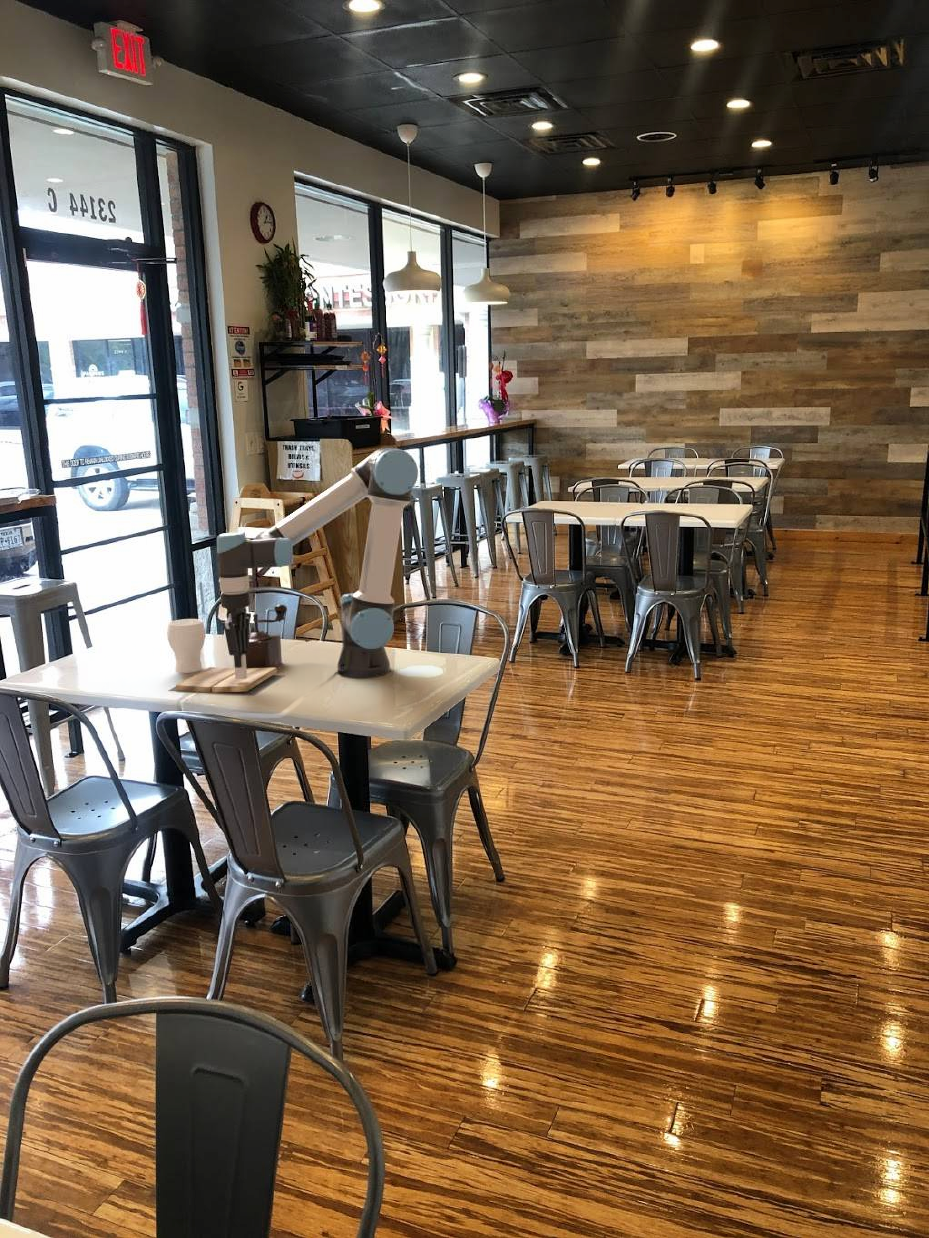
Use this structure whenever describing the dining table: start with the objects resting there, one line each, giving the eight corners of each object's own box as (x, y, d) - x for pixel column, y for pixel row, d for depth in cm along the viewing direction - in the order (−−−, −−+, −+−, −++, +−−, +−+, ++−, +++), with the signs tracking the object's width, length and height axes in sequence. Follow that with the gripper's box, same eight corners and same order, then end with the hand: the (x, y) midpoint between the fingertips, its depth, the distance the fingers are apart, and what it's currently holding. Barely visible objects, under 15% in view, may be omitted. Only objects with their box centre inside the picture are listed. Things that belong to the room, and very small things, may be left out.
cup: (198, 678, 299) (194, 626, 296) (163, 676, 301) (159, 625, 298) (214, 668, 309) (210, 618, 306) (180, 667, 311) (177, 617, 308)
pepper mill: (268, 674, 301) (265, 613, 298) (234, 672, 304) (230, 611, 301) (292, 662, 316) (289, 603, 312) (259, 660, 319) (256, 601, 315)
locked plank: (242, 673, 299) (242, 668, 298) (210, 692, 280) (210, 686, 279) (210, 672, 301) (209, 667, 301) (176, 690, 282) (175, 685, 282)
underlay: (285, 678, 297) (285, 675, 296) (254, 698, 276) (254, 695, 276) (204, 674, 302) (203, 671, 302) (168, 694, 282) (167, 690, 282)
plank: (276, 672, 296) (276, 667, 296) (246, 691, 277) (246, 685, 277) (244, 673, 299) (243, 668, 298) (212, 692, 279) (211, 686, 279)
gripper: (232, 587, 284) (238, 671, 288) (210, 596, 271) (217, 684, 276) (258, 587, 282) (264, 672, 287) (237, 596, 269) (243, 685, 274)
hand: (241, 678), depth 281 cm, fingers closed
